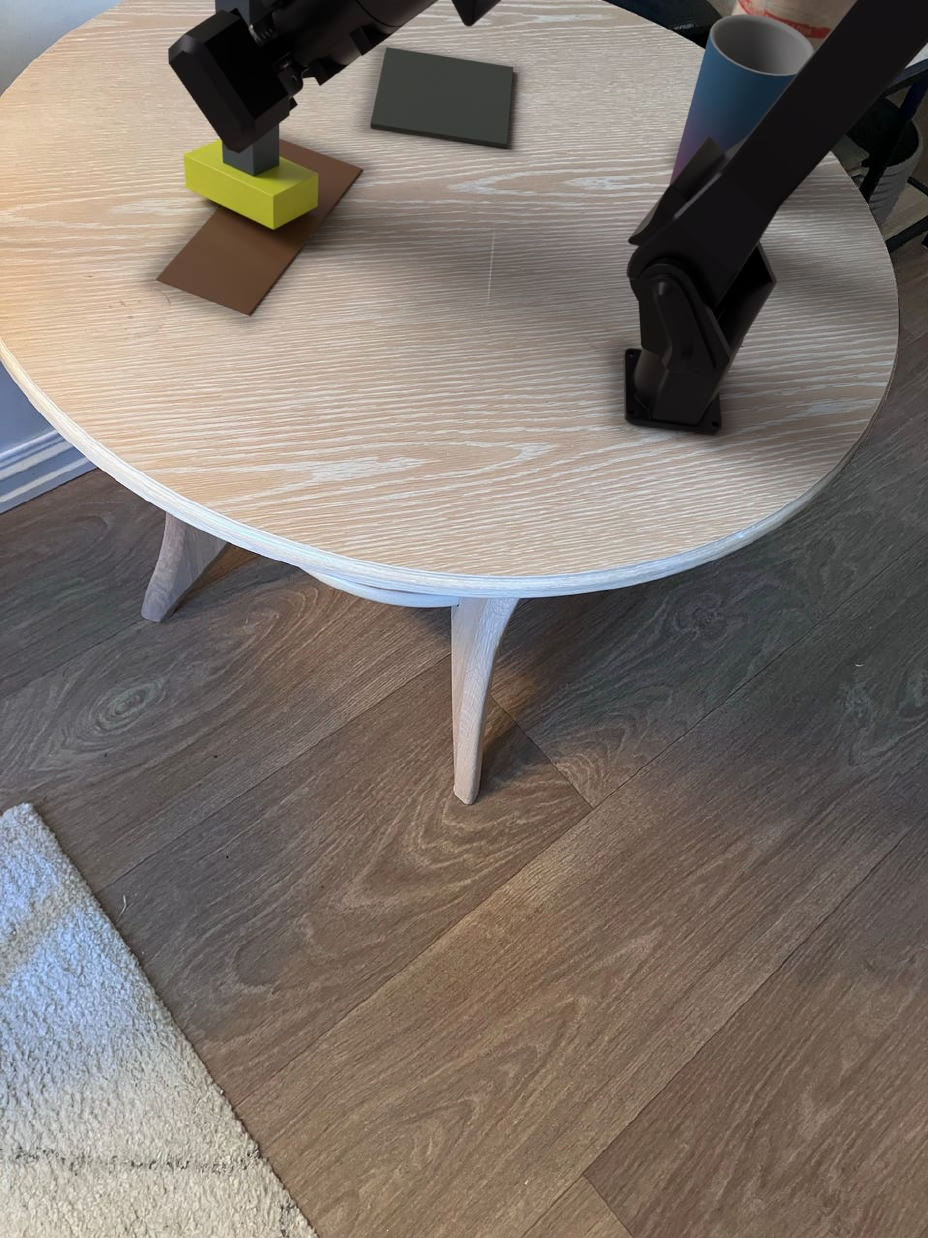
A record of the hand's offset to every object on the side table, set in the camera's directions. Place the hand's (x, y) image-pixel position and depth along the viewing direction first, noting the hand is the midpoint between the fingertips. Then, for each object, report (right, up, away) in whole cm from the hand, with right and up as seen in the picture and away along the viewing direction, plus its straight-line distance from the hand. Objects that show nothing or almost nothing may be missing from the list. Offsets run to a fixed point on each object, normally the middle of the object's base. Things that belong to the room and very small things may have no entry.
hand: (231, 87), depth 63 cm
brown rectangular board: (+1, -7, +5) cm, 9 cm away
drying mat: (+14, +8, +15) cm, 22 cm away
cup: (+33, -7, +9) cm, 35 cm away
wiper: (0, -5, +5) cm, 7 cm away
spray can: (+37, +1, +14) cm, 40 cm away
